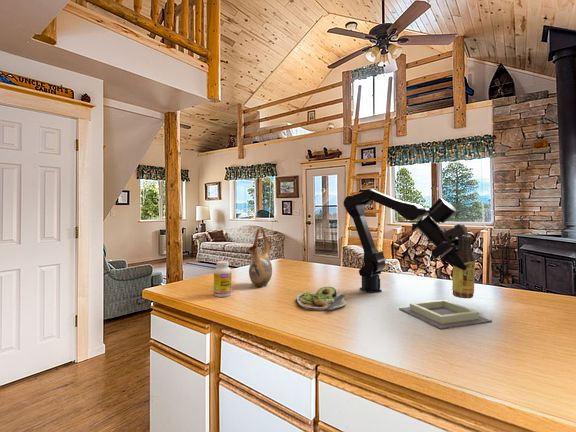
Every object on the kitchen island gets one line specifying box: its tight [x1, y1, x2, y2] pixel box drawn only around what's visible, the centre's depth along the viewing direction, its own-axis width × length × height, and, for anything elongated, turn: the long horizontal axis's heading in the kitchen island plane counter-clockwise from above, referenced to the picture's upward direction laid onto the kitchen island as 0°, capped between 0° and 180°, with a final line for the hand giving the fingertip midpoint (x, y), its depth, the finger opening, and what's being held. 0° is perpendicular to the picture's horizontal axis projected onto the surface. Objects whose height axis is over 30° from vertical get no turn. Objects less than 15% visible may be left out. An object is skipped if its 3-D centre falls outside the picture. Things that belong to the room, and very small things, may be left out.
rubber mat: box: [399, 306, 493, 330], centre depth 98 cm, size 18×18×1 cm
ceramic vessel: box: [247, 227, 273, 288], centre depth 137 cm, size 16×9×25 cm, turn 153°
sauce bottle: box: [451, 235, 476, 299], centre depth 104 cm, size 6×6×20 cm
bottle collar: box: [409, 299, 480, 324], centre depth 98 cm, size 13×13×2 cm
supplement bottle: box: [213, 260, 233, 298], centre depth 123 cm, size 7×7×13 cm
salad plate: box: [295, 286, 347, 311], centre depth 110 cm, size 19×18×5 cm
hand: (468, 268), depth 104 cm, fingers closed on sauce bottle, 6 cm apart
